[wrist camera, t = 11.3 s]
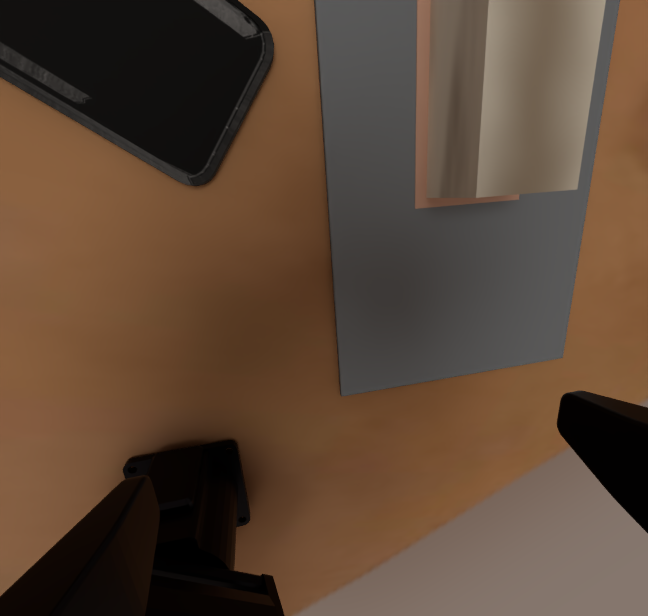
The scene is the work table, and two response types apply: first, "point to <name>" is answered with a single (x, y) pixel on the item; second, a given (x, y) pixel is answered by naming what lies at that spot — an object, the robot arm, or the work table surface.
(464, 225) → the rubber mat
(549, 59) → the ash block
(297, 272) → the work table surface
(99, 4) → the phone
